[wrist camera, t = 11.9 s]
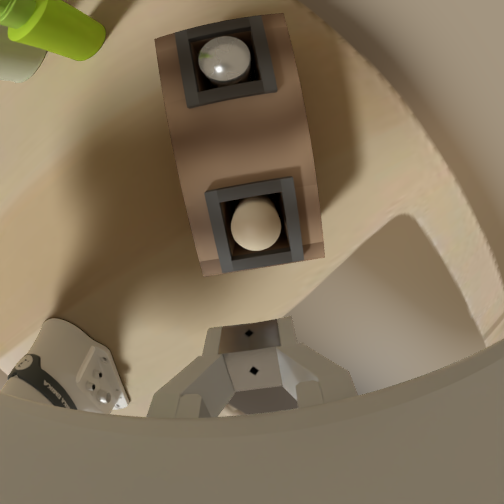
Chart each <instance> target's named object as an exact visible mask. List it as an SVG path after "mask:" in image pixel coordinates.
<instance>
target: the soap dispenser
mask: <svg viewBox="0 0 504 504" xmlns="http://www.w3.org/2000/svg"><path fill="white" fill-rule="evenodd" d="M0 25H3V26H7V27H8V38H9V39H10V40H11V41H14V42H18V43H22V44H26V45H29V46H33V47H36V48H40V49H43V50H46V51H50V52H53V53H56V54H59V55H62V56H65V57H68V58H71V59H74V60H77V61H83V60H86V59H88V58H90V57H92V56H93V55H94V54H95V53H96V52H97V51H98V50H99V49H100V48H101V46H102V44H103V42H104V40H105V36H106V31H105V28H104V26H103V25H101V24H100V23H98V22H97V21H95V20H94V19H92V18H91V17H89V16H87V15H86V14H84V13H82V12H81V11H79V10H77V9H76V8H74V7H72V6H71V5H69V4H67V3H66V2H64V1H62V0H0Z"/></svg>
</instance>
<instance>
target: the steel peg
mask: <svg viewBox="0 0 504 504" xmlns="http://www.w3.org/2000/svg"><path fill="white" fill-rule="evenodd" d="M198 62H199V66H200V68H201V70H202V72H203V73H204V74H205V76H206V77H207V78H208V80H209V81H210V82H211V84H212V85H213V87H214V88H220V87H224V86H229V85H235V84H240V83H246V82H251V79H252V78H251V60H250V52H249V49H248V47H247V46H246V44H245V43H244V42H242V41H241V40H239V39H237V38H234V37H230V36H222V37H218V38H215V39H212V40H211V41H209V42H208V43H206V44H205V45H204V46H203V48H202V49H201V51H200V54H199V58H198Z"/></svg>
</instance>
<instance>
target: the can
mask: <svg viewBox="0 0 504 504" xmlns="http://www.w3.org/2000/svg"><path fill="white" fill-rule="evenodd" d="M45 54H46V50H43V49H40V48H36V47H33V46H29V45H26V44H22V43H18V42H14V41H11V40H10V39H9V38H8V27H7V26H3V25H0V80H5V81H13V82H15V83H21V82H24V81H26V80H27V79H29V78H30V77H31V76H32V75H33V74H34V73H35V72H36V70H37V69H38V68H39V66H40V64H41V63H42V61H43V59H44V57H45Z"/></svg>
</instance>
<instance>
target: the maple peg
mask: <svg viewBox="0 0 504 504" xmlns="http://www.w3.org/2000/svg"><path fill="white" fill-rule="evenodd" d="M280 231H281V222H280V218H279V215H278V212H277V209H276V206H275V203H274V200H273V198H272V196H271V195H270V194H265V195H259V196H253V197H247V198H242V199H238V202H237V205H236V208H235V212H234V215H233V218H232V222H231V232H232V235H233V237H234V239H235V241H236V242H237V243H238V244H239V245H240V246H242V247H243V248H245V249H248V250H253V251H260V250H264V249H267V248H269V247H270V246H272V245H273V244H274V243H275V242H276V240H277V239H278V237H279V235H280Z"/></svg>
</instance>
